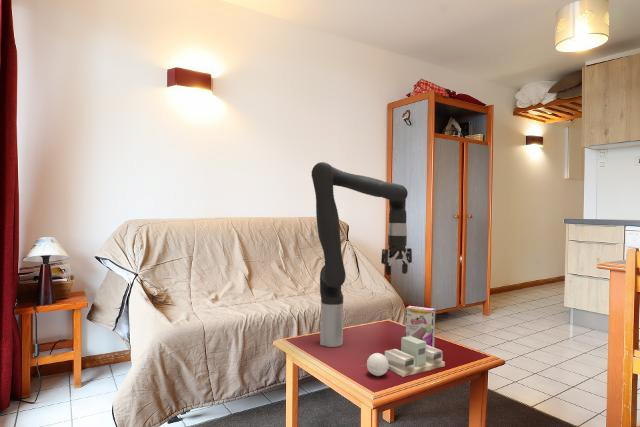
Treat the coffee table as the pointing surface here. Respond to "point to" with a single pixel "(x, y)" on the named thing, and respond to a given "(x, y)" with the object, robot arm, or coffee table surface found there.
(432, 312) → the candy bar box
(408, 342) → the block
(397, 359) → the rail board
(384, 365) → the seamed sphere
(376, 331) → the coffee table surface
